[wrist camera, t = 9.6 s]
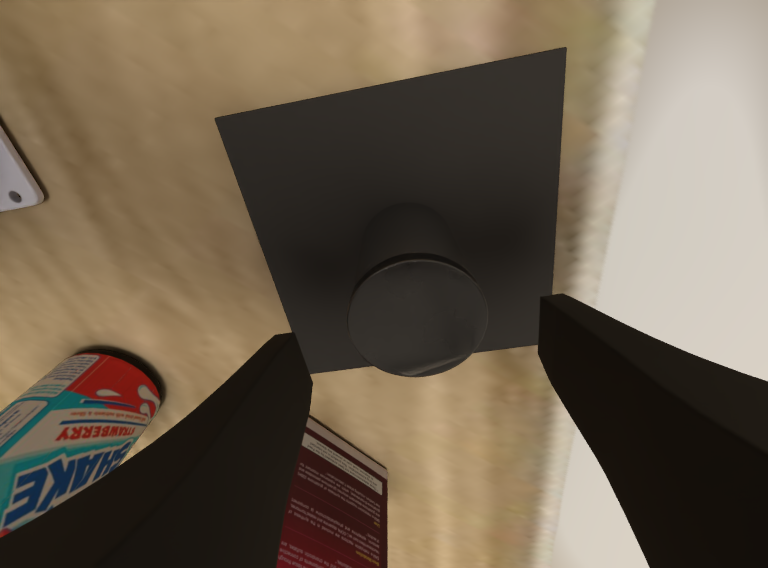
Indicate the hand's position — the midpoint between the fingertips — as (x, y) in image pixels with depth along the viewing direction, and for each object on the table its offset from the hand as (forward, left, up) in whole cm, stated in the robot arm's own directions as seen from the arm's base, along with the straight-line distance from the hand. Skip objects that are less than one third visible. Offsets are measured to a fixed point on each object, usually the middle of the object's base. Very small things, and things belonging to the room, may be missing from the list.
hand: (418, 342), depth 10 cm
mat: (0, 0, -8) cm, 8 cm away
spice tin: (0, 0, -7) cm, 7 cm away
